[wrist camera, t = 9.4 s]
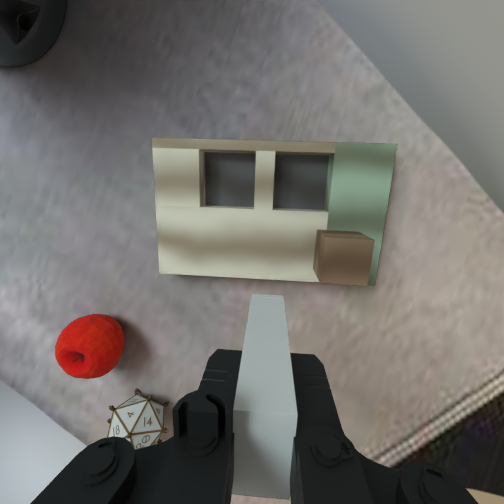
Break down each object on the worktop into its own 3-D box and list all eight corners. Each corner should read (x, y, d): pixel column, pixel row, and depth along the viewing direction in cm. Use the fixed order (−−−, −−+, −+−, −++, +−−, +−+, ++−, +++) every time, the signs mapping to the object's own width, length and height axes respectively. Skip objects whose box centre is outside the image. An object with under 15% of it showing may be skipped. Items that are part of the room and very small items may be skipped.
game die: (158, 374, 43) (148, 381, 34) (183, 424, 41) (179, 446, 32) (102, 409, 40) (74, 427, 31) (126, 464, 38) (104, 501, 29)
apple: (137, 357, 38) (107, 397, 31) (85, 350, 38) (42, 388, 31) (136, 307, 36) (103, 337, 29) (81, 300, 36) (34, 328, 29)
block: (316, 229, 29) (325, 237, 24) (359, 231, 28) (374, 240, 24) (312, 268, 30) (319, 282, 25) (353, 271, 30) (367, 286, 25)
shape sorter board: (163, 142, 30) (151, 137, 28) (384, 147, 29) (397, 143, 26) (168, 265, 34) (159, 273, 31) (365, 276, 33) (374, 285, 30)
